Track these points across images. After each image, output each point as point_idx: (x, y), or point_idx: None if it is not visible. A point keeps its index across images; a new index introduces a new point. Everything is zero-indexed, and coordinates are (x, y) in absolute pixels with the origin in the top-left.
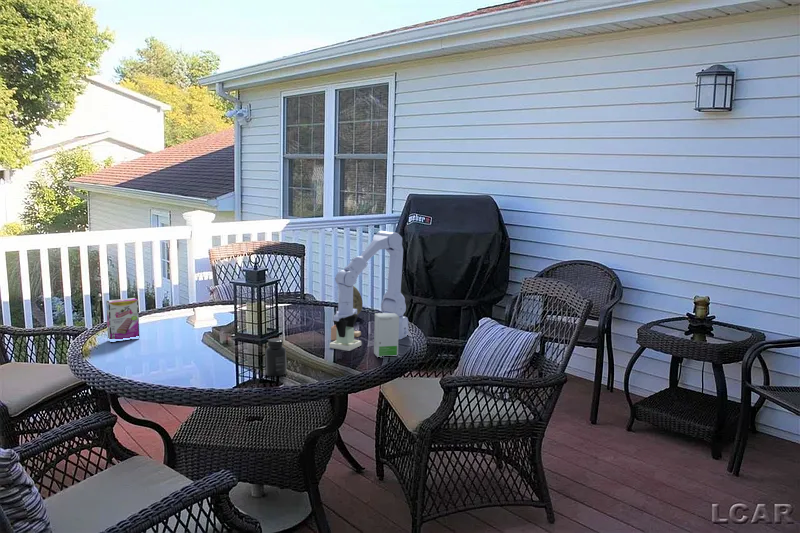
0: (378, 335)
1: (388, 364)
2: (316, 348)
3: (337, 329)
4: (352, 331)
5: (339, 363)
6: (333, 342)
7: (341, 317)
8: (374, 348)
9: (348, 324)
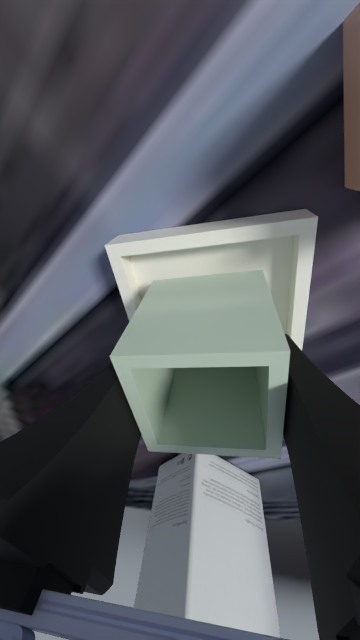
0: (138, 584)
1: (135, 491)
2: (29, 160)
3: (86, 387)
4: (241, 424)
5: (16, 404)
6: (145, 252)
7: (13, 635)
8: (184, 474)
9: (296, 435)
